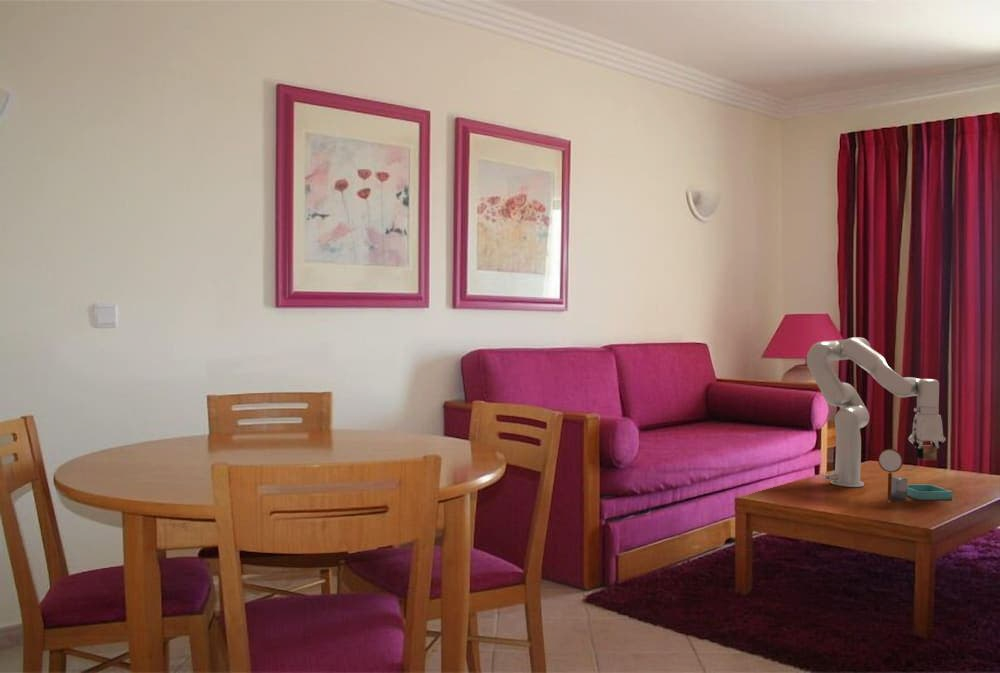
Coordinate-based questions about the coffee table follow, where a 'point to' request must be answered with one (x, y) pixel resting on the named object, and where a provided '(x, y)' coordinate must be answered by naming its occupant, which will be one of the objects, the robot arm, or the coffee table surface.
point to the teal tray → (928, 492)
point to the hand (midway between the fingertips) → (926, 457)
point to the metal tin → (899, 488)
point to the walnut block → (929, 452)
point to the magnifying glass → (890, 465)
